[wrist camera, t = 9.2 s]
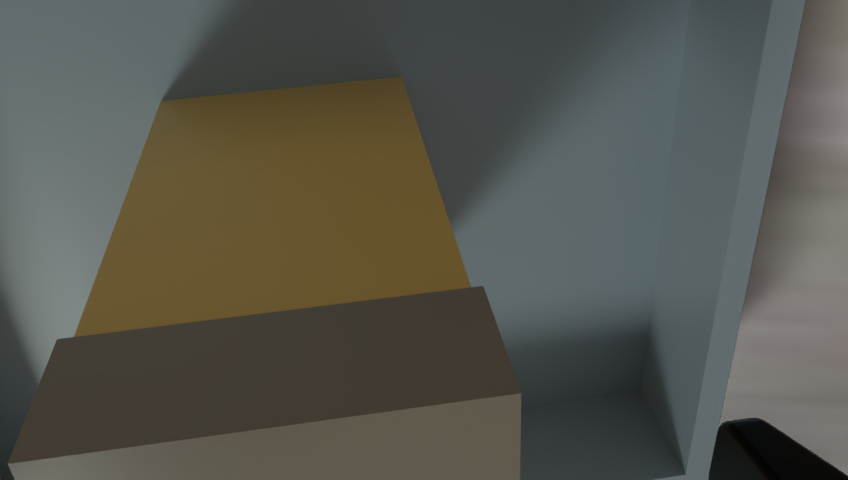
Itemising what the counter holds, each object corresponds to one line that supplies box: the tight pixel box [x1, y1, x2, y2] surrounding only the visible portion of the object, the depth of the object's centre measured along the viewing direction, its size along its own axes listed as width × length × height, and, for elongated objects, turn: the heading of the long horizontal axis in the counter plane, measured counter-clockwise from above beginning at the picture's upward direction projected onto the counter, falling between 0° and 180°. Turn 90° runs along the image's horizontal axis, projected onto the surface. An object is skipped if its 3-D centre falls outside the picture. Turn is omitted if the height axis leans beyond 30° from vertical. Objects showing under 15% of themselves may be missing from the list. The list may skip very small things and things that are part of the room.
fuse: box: [8, 77, 521, 480], centre depth 11 cm, size 4×4×8 cm
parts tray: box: [0, 0, 806, 480], centre depth 14 cm, size 15×13×3 cm
